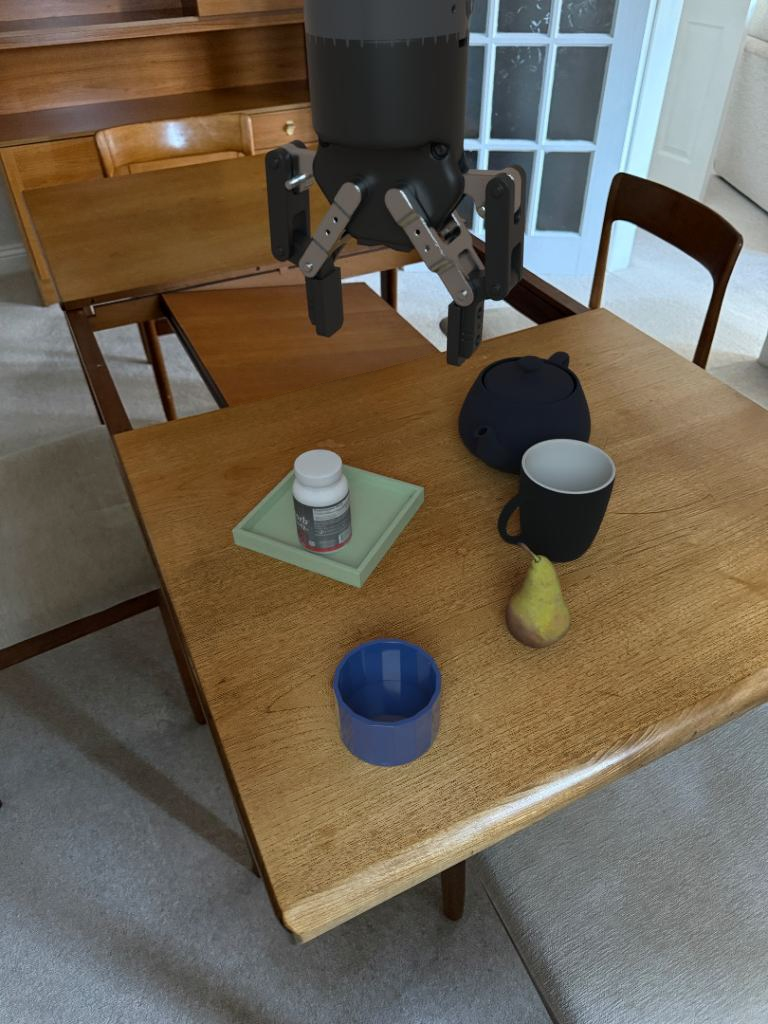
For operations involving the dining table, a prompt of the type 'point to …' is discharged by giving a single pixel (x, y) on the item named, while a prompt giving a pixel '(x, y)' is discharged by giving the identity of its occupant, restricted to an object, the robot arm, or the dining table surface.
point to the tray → (374, 522)
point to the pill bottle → (321, 502)
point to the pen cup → (387, 701)
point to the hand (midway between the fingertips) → (393, 345)
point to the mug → (560, 498)
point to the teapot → (522, 409)
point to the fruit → (538, 606)
